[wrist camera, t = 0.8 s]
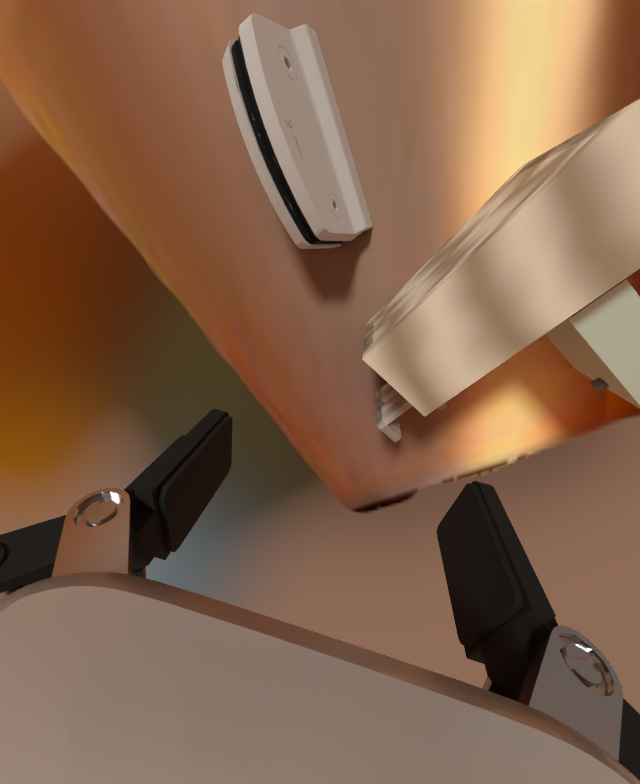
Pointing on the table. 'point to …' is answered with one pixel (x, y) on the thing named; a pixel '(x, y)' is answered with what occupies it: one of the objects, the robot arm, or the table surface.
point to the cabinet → (512, 270)
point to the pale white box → (605, 341)
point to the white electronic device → (295, 132)
